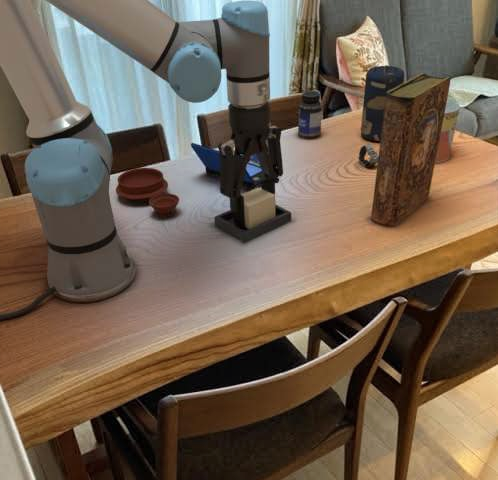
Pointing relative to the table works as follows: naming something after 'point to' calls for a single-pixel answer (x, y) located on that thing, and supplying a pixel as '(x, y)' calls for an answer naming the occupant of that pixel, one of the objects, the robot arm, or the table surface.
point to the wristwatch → (371, 153)
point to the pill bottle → (310, 115)
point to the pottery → (147, 189)
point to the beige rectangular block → (258, 207)
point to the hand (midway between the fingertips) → (253, 217)
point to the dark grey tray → (245, 234)
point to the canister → (378, 98)
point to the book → (408, 147)
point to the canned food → (447, 131)
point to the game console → (212, 165)
